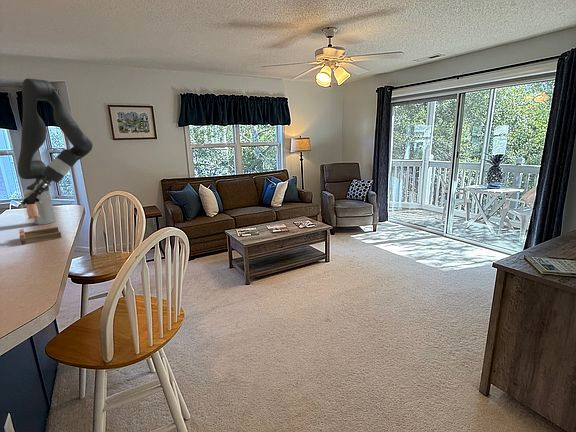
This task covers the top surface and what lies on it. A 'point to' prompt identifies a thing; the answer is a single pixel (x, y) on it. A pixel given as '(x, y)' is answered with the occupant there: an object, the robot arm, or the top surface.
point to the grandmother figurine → (31, 205)
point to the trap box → (39, 235)
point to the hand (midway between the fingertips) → (28, 200)
